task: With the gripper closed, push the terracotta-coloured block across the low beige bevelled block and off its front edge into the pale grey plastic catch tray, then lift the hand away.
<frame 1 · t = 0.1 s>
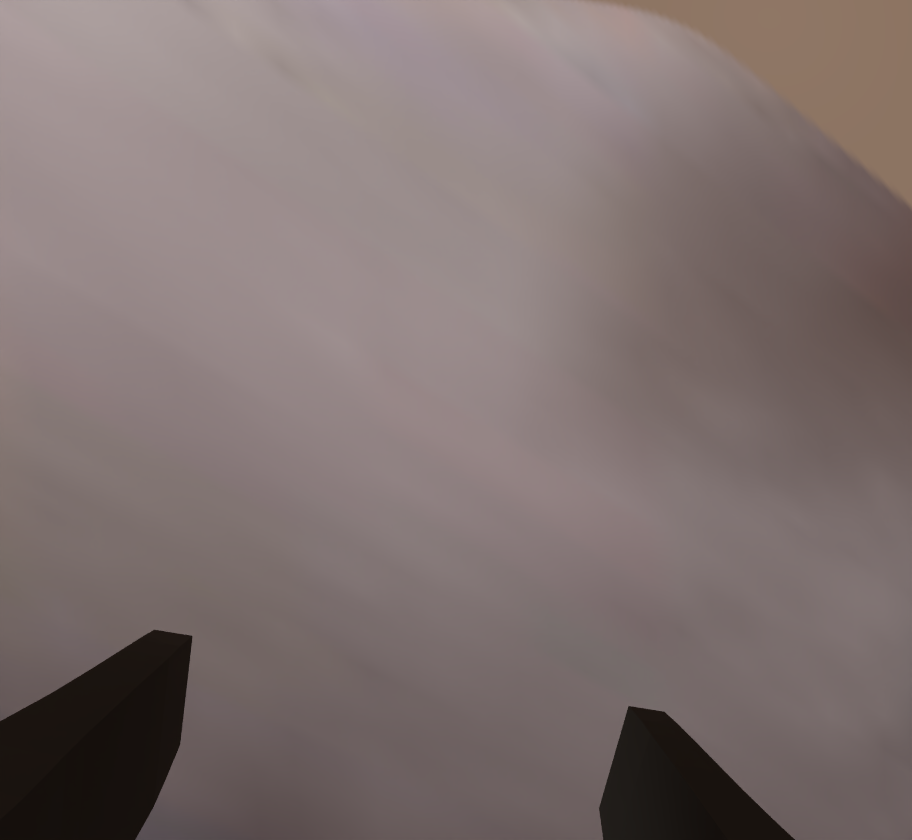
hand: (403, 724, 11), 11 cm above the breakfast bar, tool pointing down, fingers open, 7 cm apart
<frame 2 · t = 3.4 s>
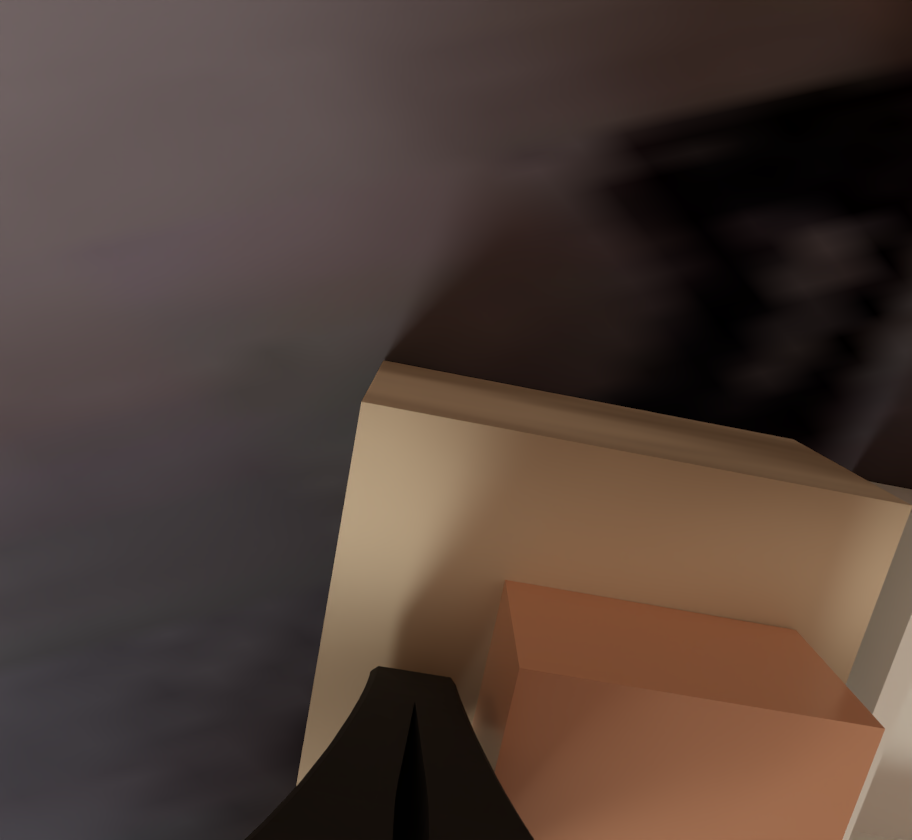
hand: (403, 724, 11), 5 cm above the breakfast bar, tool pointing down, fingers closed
terracotta-coloured block: (615, 732, 12), point 4 cm above the breakfast bar, touching beige bevelled block
beige bevelled block: (540, 609, 16), on the breakfast bar
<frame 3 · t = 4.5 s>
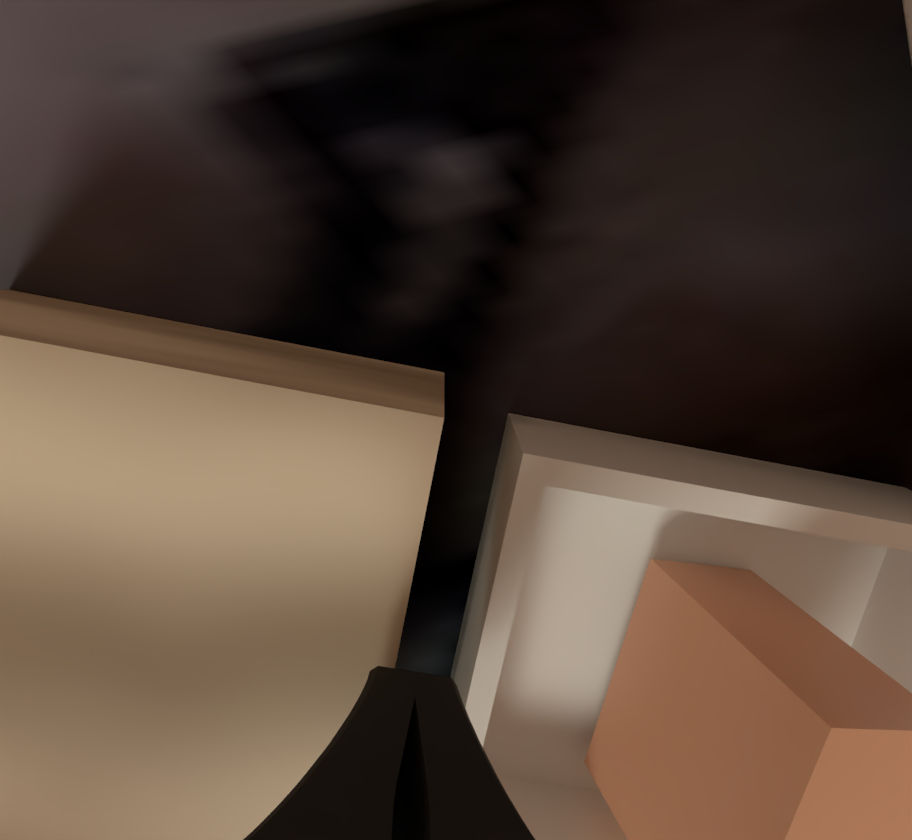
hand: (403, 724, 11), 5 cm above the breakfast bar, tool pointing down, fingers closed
catch tray: (657, 629, 16), on the breakfast bar
terracotta-coloured block: (679, 749, 13), point 4 cm above the breakfast bar, tilted 104°, touching catch tray
beige bevelled block: (203, 552, 16), on the breakfast bar
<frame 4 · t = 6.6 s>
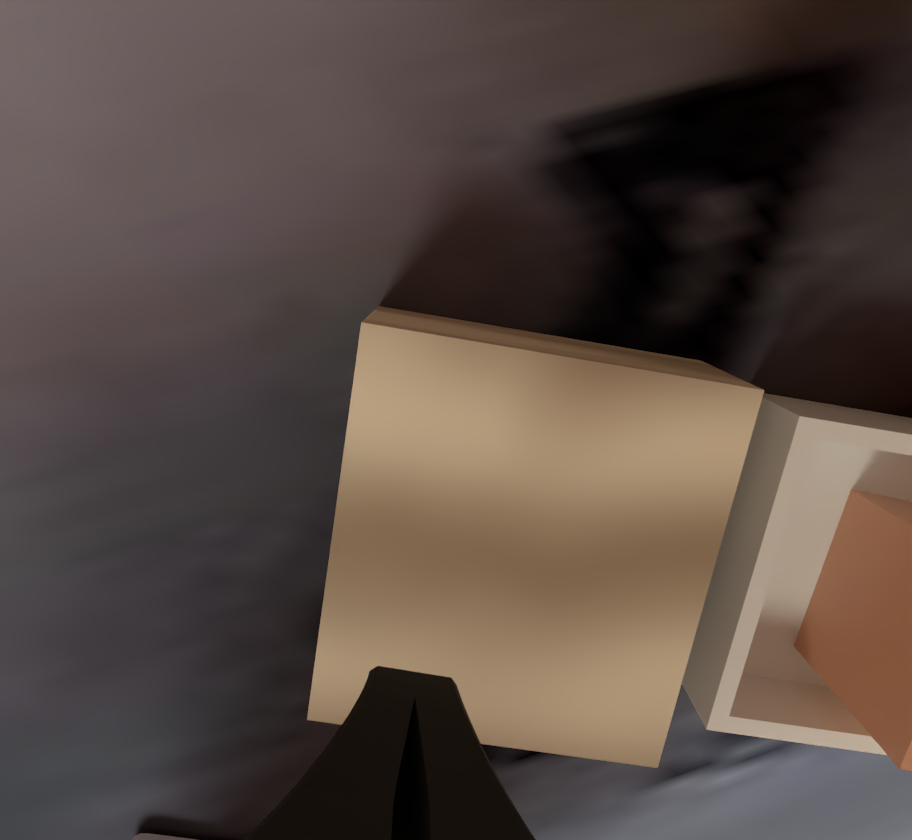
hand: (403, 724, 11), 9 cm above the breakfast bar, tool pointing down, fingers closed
catch tray: (853, 557, 21), on the breakfast bar
terracotta-coloured block: (872, 614, 18), point 3 cm above the breakfast bar, tilted 90°, touching catch tray
beige bevelled block: (507, 503, 20), on the breakfast bar
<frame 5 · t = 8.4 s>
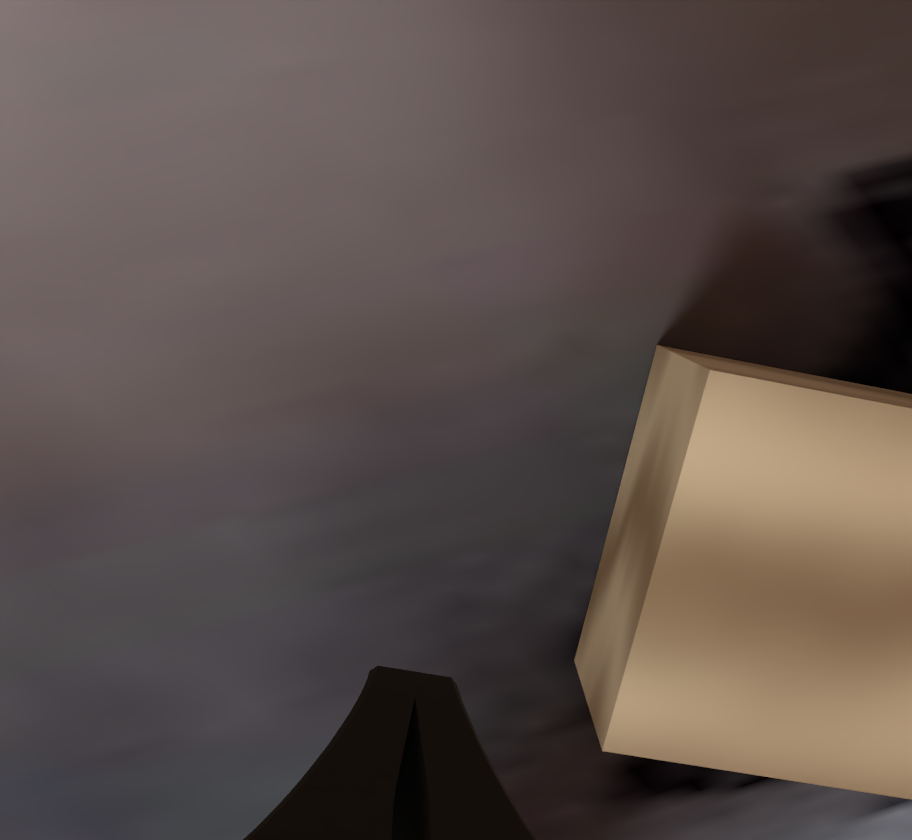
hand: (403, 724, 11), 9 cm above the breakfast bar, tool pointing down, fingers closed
beige bevelled block: (759, 537, 21), on the breakfast bar
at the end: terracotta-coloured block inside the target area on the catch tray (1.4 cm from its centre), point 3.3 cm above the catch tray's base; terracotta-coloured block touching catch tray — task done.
